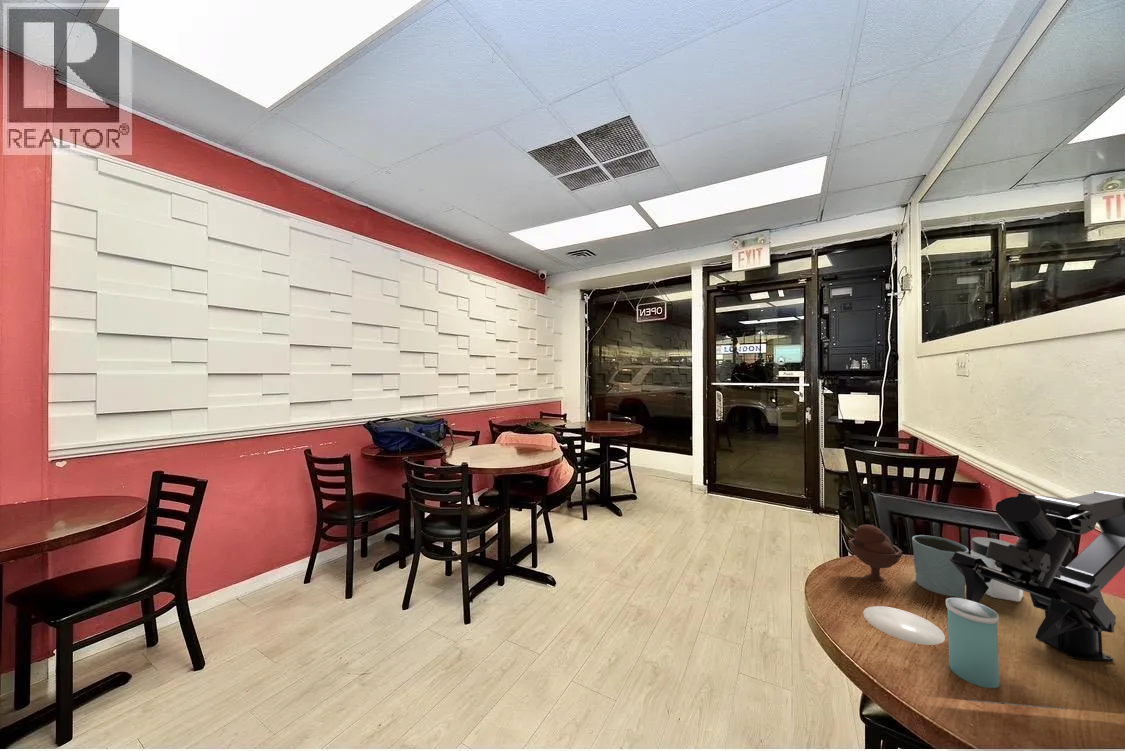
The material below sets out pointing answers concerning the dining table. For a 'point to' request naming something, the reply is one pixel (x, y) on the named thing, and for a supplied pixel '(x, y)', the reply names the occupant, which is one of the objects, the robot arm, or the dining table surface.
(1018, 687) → the dining table surface
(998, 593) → the jar
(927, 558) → the grey-blue cup
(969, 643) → the teal canister
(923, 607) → the dining table surface
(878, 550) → the ice cream bowl
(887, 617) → the cream saucer
